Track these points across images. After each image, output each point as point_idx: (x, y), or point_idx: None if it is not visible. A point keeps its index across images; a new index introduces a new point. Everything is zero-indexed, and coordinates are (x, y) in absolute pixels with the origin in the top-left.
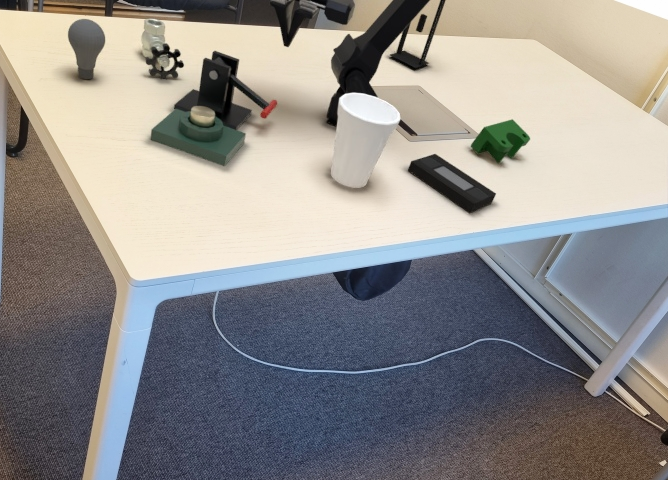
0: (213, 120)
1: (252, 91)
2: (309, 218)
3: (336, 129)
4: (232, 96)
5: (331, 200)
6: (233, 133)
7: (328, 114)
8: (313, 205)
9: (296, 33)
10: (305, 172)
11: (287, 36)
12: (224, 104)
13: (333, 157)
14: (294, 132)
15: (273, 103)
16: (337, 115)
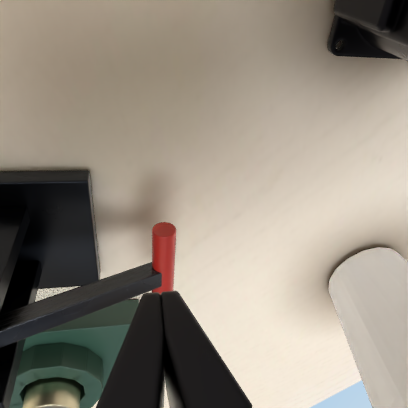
0: (79, 402)
1: (96, 300)
2: (291, 379)
3: (367, 393)
4: (20, 237)
5: (325, 335)
6: (116, 339)
7: (343, 17)
8: (296, 358)
9: (223, 367)
10: (277, 300)
11: (163, 390)
12: (33, 288)
13: (342, 327)
14: (231, 170)
15: (168, 259)
16: (381, 44)
